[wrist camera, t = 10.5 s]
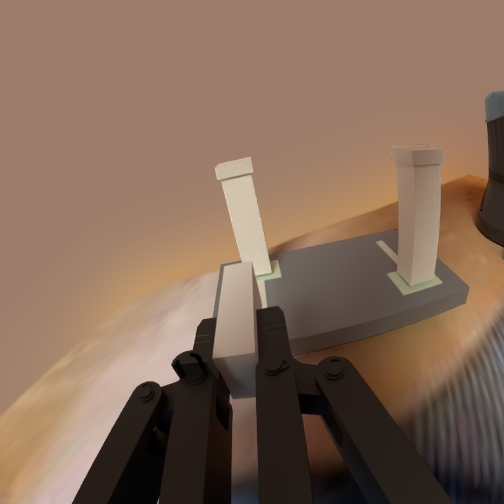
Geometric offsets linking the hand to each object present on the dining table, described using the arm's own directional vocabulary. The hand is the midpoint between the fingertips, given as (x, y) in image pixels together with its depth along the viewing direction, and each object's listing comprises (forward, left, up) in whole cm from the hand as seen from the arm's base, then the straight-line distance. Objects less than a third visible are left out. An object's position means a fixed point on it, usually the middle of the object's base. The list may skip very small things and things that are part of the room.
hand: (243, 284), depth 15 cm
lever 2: (-16, -7, -8) cm, 19 cm away
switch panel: (-8, -12, -10) cm, 17 cm away
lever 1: (0, -16, -8) cm, 17 cm away
